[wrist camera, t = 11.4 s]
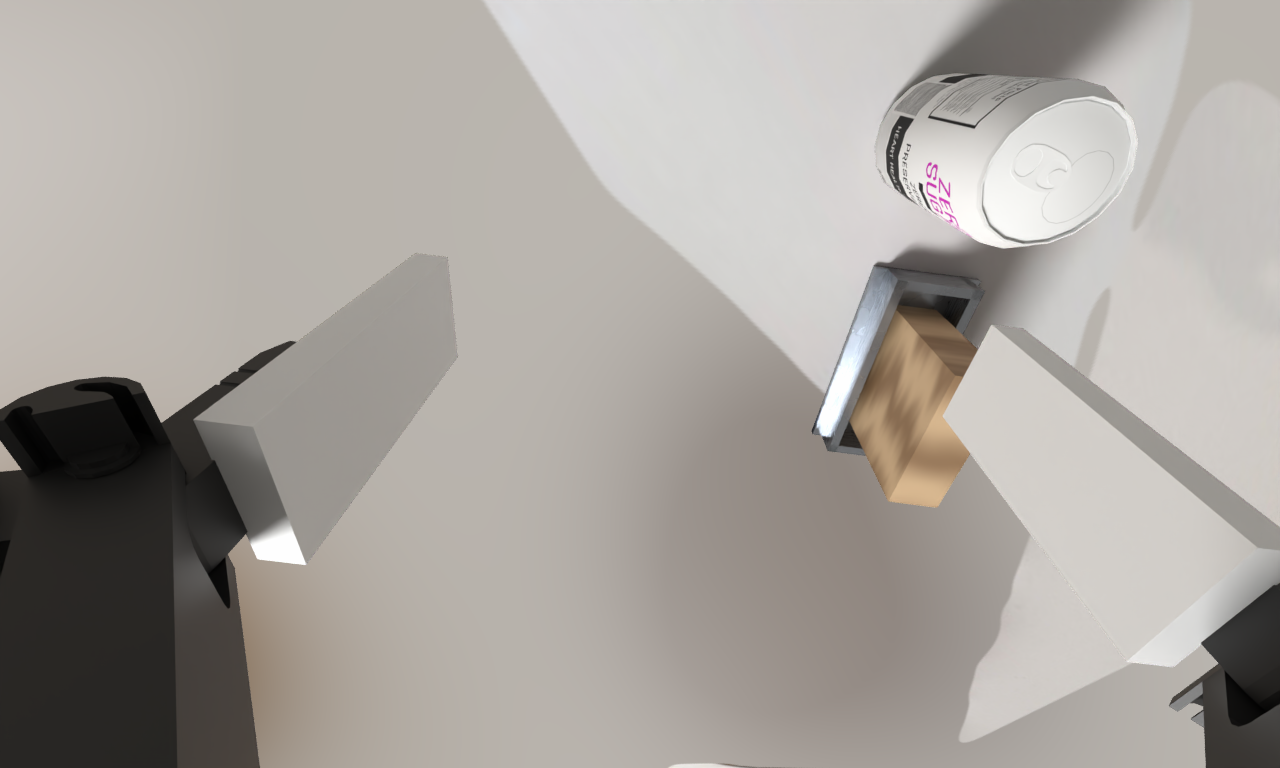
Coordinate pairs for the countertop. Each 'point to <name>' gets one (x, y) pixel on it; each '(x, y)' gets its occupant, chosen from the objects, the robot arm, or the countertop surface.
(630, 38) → the countertop surface
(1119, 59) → the countertop surface
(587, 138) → the countertop surface
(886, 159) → the supplement can
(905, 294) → the track
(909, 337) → the panel
